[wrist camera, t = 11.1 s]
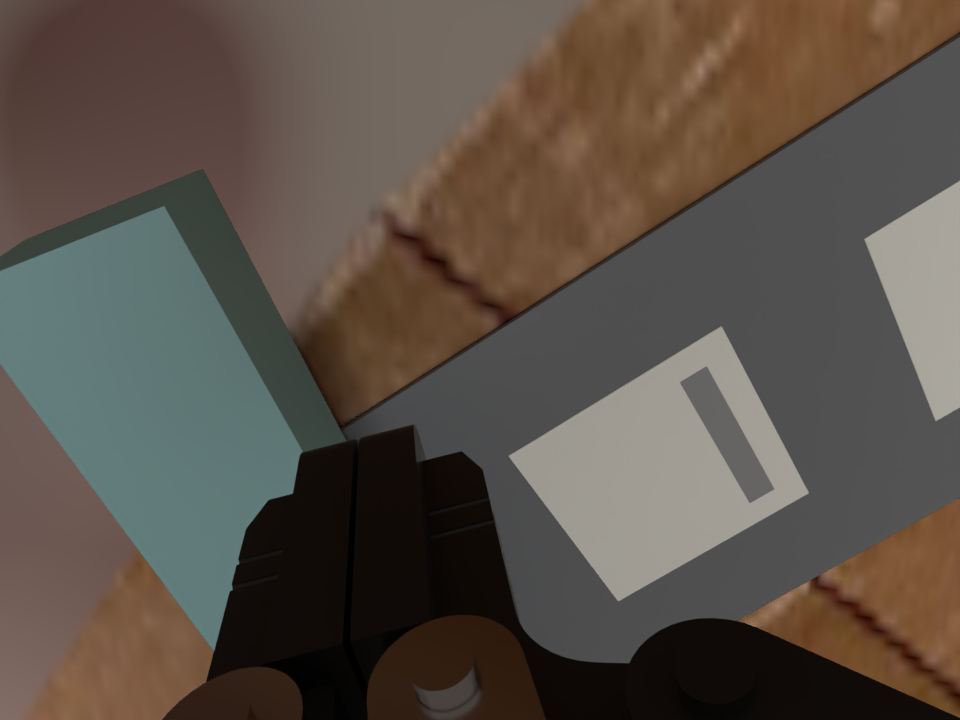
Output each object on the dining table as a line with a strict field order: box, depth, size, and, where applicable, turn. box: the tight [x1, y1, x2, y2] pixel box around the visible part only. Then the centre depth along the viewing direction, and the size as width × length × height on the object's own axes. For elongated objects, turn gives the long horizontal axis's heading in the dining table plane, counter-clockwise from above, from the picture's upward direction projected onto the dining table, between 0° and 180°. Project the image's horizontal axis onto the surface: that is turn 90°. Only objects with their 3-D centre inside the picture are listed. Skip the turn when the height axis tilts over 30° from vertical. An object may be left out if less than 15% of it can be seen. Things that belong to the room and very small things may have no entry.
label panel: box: [340, 34, 960, 663], centre depth 25 cm, size 16×28×1 cm, turn 122°
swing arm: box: [0, 169, 346, 651], centre depth 22 cm, size 5×20×4 cm, turn 20°
